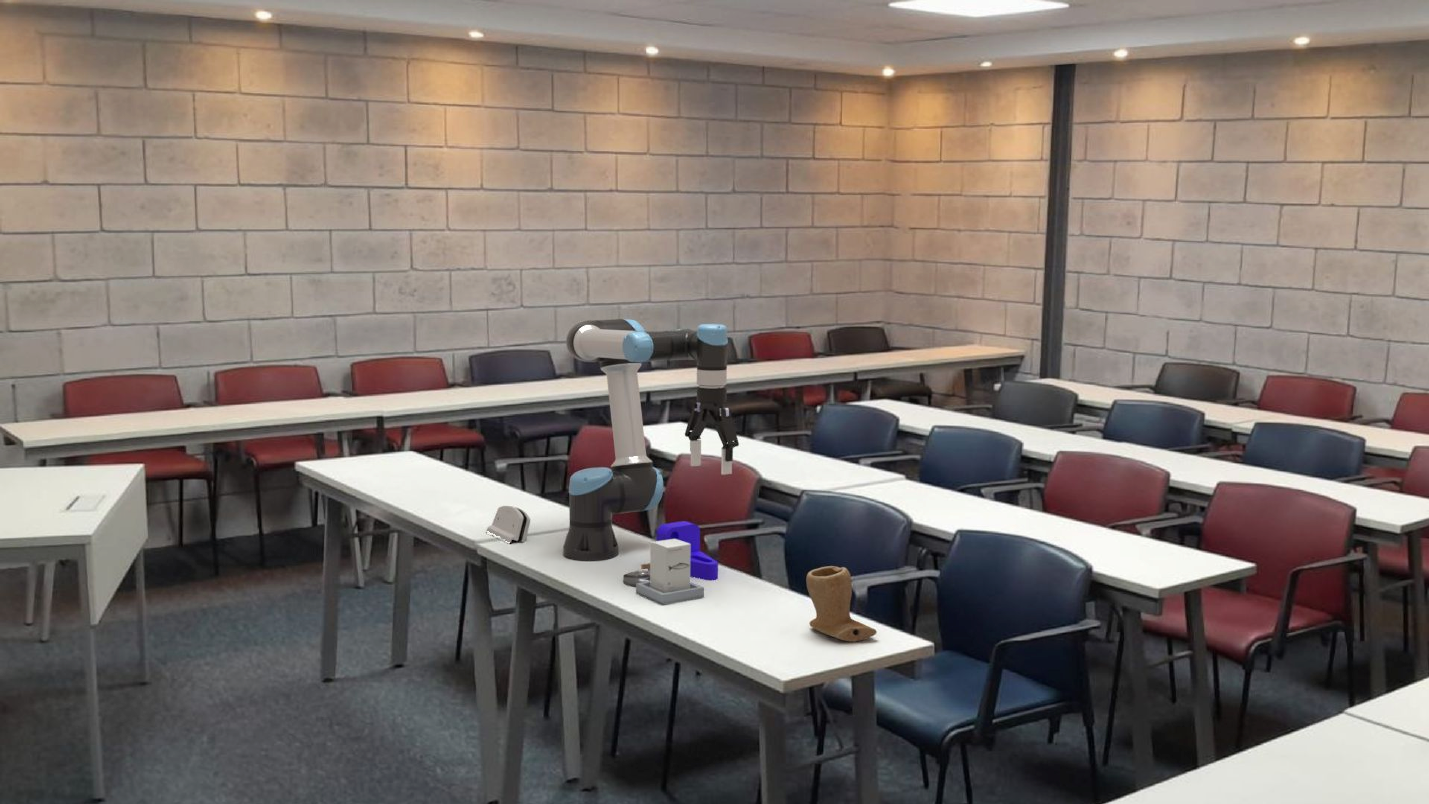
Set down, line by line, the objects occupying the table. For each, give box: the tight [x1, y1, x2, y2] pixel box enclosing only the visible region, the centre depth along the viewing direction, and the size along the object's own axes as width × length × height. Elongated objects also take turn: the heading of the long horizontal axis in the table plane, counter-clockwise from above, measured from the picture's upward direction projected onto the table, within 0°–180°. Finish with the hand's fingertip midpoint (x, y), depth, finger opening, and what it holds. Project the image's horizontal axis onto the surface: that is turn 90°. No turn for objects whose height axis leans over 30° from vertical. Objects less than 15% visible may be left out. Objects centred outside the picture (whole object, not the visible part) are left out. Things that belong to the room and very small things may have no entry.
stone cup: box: [806, 565, 878, 643], centre depth 284 cm, size 15×12×15 cm
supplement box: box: [649, 539, 691, 593], centre depth 314 cm, size 7×7×13 cm
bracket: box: [656, 520, 719, 581], centre depth 336 cm, size 18×11×12 cm, turn 39°
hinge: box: [486, 505, 531, 543], centre depth 373 cm, size 17×5×10 cm, turn 34°
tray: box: [635, 581, 705, 606], centre depth 315 cm, size 12×12×2 cm
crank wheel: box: [622, 563, 650, 588], centre depth 326 cm, size 10×10×6 cm
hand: (710, 469), depth 325 cm, fingers open, 13 cm apart
